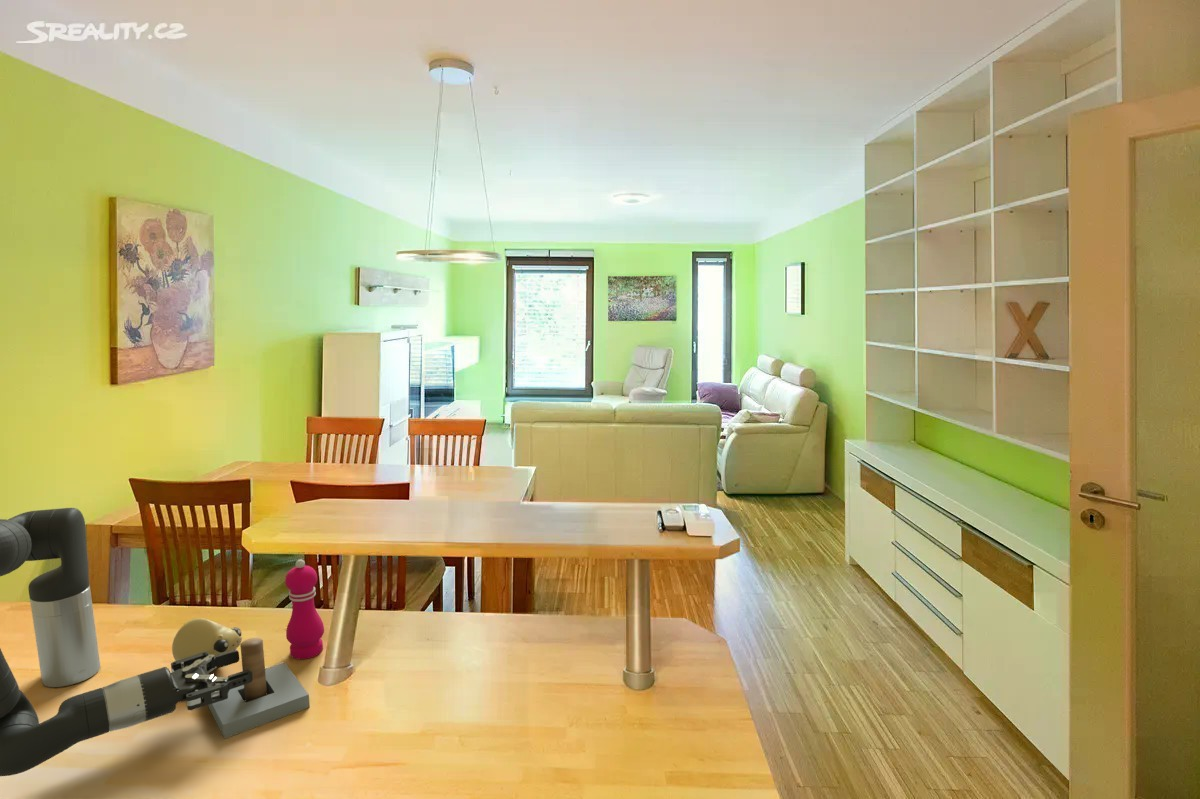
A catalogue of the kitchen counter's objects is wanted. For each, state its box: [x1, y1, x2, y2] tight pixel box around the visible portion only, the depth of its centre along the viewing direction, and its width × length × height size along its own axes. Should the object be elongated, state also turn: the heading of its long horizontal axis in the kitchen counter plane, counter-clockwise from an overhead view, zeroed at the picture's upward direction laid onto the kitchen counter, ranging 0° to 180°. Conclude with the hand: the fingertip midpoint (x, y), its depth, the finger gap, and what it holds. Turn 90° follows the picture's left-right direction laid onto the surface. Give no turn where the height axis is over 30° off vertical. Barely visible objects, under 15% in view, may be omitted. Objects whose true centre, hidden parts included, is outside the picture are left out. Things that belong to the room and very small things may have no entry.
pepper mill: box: [284, 559, 325, 660], centre depth 148 cm, size 7×7×20 cm
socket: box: [207, 661, 310, 739], centre depth 131 cm, size 14×14×2 cm
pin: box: [239, 637, 268, 703], centre depth 131 cm, size 4×4×12 cm
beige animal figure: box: [171, 617, 243, 669], centre depth 142 cm, size 10×12×11 cm
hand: (245, 664), depth 130 cm, fingers open, 8 cm apart
